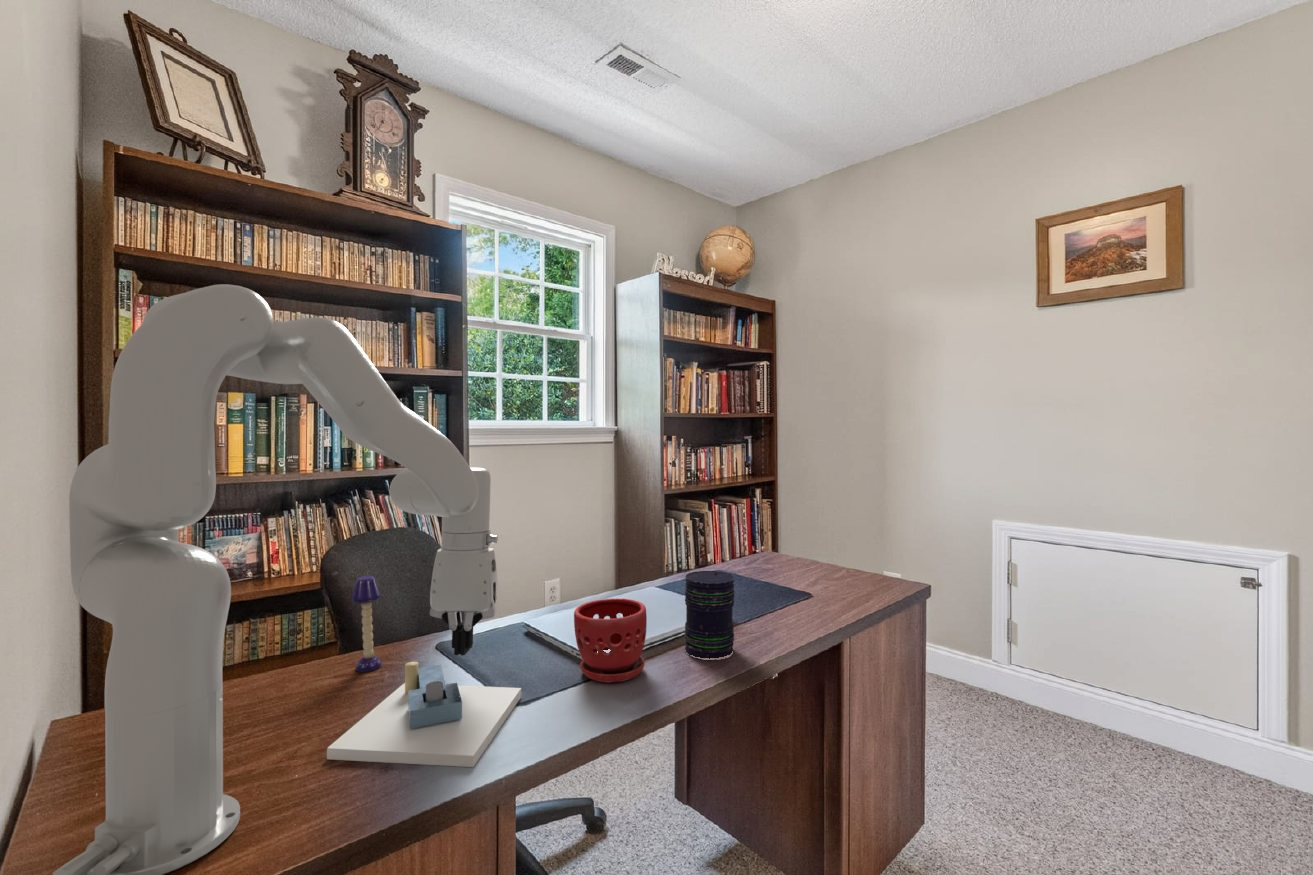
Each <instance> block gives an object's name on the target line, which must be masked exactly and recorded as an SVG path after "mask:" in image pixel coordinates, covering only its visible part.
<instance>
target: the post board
mask: <svg viewBox="0 0 1313 875" xmlns="http://www.w3.org/2000/svg"><path fill="white" fill-rule="evenodd" d="M418 668H419V662H417V661H409V662H405V663H404V683H402V685H400V686H399V687H397V689H395V690H394V691H393V692H391V694H389V695H388V696H387V697H386V698H385V699H384V700H382V701H381V702H380V703H379V704H377V706H375V707H374V708H372V710H371V711H369V712H368V713H367V714H366V715H364V716H363V717H362V718H361V719H360V720H359V721H357V722H356V723H355V724H354V725H353V726H351V727H350V728H349V729H348V730H346V731H345V733H343V734H342V735H340V737H339V738H337V739H336V740H335V741H334V742H332V743H331V744H330V745H329V746H328V747H326V760H330V761H331V760H332V761H333V760H335V761H351V762H352V761H353V762H368V763H370V762H371V763H372V762H373V763H388V764H389V763H390V764H405V765H406V764H409V765H423V766H424V765H425V766H442V767H443V766H445V767H465V768H466V767H467V768H474V767H475V765H476V764H477V763H478V761H479V760H480V758H481V756H482V755H483V754H484V752H486V749H487V748H488V746H490V744H491V743H492V741H493V739H494V738H495V736H496V735H497V733H498V732H499V730H500V729H501V728H502V726H503V724H504V723H505V722H506V721H507V719H508V717H509V716H510V714H511V713H512V712H513V710H514V709H515V707H516V705H518V703H519V701H520V700H521V698H522V687H509V686H507V687H505V686H504V687H503V686H486V685H485V686H484V685H483V686H482V685H480V686H479V685H458V684H457V685H458V689H459V693H460V696H461V700H462V719H458V720H453V721H448V722H442V723H437V724H432V725H427V726H422V727H417V728H411V729H410V726H409V712H408V691H410V690H416V689H418ZM442 699H443V682H440V681H434V682H430V683H428V684H427V685H426V702H431V701H436V700H442Z"/></svg>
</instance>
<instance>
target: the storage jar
mask: <svg viewBox="0 0 1313 875" xmlns="http://www.w3.org/2000/svg"><path fill="white" fill-rule="evenodd" d="M734 583H735V577H734V575H732V574H731V573H728V572H724V571H723V572H722V571H717V570H716V571H715V570H698V571H693V572H689V573H686V575H685V584H684V598H685V599H684V602H685V605H686V606H685V608H686V611H685V612H686V615H685V616H686V618H685V620H686V621H685V624H684V645H685V646H684V651H685V650H686V652H687V653H688V654H689V655H693V656H695V657H700V658H709V659H710V658H719V657H724V656H727V655H730V654H731V653H732V651H733V652H734V642H735V633H734V624H733V607H734V605H735V604H734V603H735V598H734V597H735V584H734ZM686 652H685V653H686Z"/></svg>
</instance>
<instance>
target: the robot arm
mask: <svg viewBox="0 0 1313 875" xmlns="http://www.w3.org/2000/svg"><path fill="white" fill-rule="evenodd" d="M226 376H228V377H229V376H230V377H235V378H239V379H244V380H249V381H250V380H251V381H256V382H264V383H271V384H278V385H279V384H280V385H300V384H302V385H303V386H304V387H305V389H306V390H307V391H308V392H309V393H310V395H311V396H312V397H313V399H315V401H316V402H317V403H318V404H319V405H320V407H321V408H322V409H323V410H324V411H325V412H326V413H327V415H328V416H329V417H330V418H331V420H332V421H333V422H334V424H335V425H336V426H337V427H338V428H339V430H340V431H341V432H342V434H344V436H345V437H346V438H347V439H349V440H350V441H352V442H353V443H356V444H357V445H358V446H361V447H363V448H365V449H367V450H368V451H371V452H374V453H376V454H379V455H381V456H384V457H385V458H389V459H391V460H393V461H394V462H396V463H397V464H400V465H401V466H402V467H404V469H403V470H401V471H400V472H398V473H397V474H396V475H395V476H394V477H393V478H392V481H391V482H390V485H389V497H390V499H391V501H392V504H394V505H395V507H397V508H398V509H400V510H401V511H403V512H405V513H409V514H413V515H420V516H433V517H441V545H440V548H439V549H437V551H436V554H435V558H434V564H433V568H432V575H431V583H430V592H429V604H430V611H429V616H430V617H433V618H437V619H442V620H443V622H445V623H446V625H448V628H449V630H450V631H451V648H452V649H453V653H454V654H453V655H454V656H465V655H466V654H468V652H469V651H470V650H471V649H473V644H474V627H475V625H477V624H478V623H479V622H480V621H481V620H487V619H492V618H494V617H495V616H496V615H497V609H496V608H497V607H496V603H497V601H498V596H499V595H498V588H499V587H498V570H497V561H496V556H495V554H496V553H495V549H494V548H493V547H489V546H491V545H492V544H497V543H498V538H499V537H498V534H495V535H494V534H493V533H492V532H491V530H490V514H491V513H490V512H491V507H490V506H491V484H492V483H491V480H492V479H491V474H490V472H489V469H486V468H483V467H473V466H472V467H471V466H470V465H469V464H468V462H467V461H466V459H465V457H464V456H463V455H462V453H461V452H460V450H459V449H458V448H457V447H456V445H455V444H454V443H453V442H452V441H451V440H450V439H449V438H448V437H447V436H446V435H445V434H443V433H442V432H441V431H439V430H438V429H437V428H436V427H434V426H433V425H432V424H430V423H428V421H425V420H424V419H423V418H422V417H421V416H419V415H418V414H417V413H416V412H414V411H413V410H411V409H410V408H408V407H407V406H406V405H404V403H402V401H400V399H399V398H398V397H397V395H396V394H395V392H394V391H393V390H392V389H391V387H390V386H389V384H388V383H387V382H386V380H385V379H384V377H383V376H382V375H381V373H380V372H379V370H378V369H377V368H376V366H375V365H374V364H373V362H372V361H371V359H370V358H369V356H368V355H367V354H366V353H365V351H364V349H363V348H362V347H361V346H360V344H359V343H358V341H357V340H356V339H355V337H354V336H353V334H352V333H351V332H350V331H349V330H348V329H347V328H346V327H345V325H343V324H341V323H340V322H338V321H336V320H334V319H332V318H329V317H319V316H318V317H317V316H316V317H306V318H298V319H292V320H286V321H279V320H275V319H274V318H273V312H272V310H271V307H270V306H269V304H268V302H267V301H266V300H265V298H263V297H262V296H261V295H260V294H259V293H257V292H255V291H254V290H253V289H250V288H247V287H243V286H241V285H236V284H235V285H234V284H228V283H227V284H226V283H225V284H222V283H221V284H213V285H208V286H204V287H199V288H195V289H193V290H189V291H186V292H183V293H179V294H174V295H170V296H168V297H165V298H162V299H160V300H158V301H157V302H156V303H154V304H153V305H151V307H150V308H148V310H147V312H146V314H145V315H144V318H143V320H142V323H141V324H140V325H139V327H138V328H137V329H136V330H135V331H134V332H133V333H132V335H131V336H130V338H129V339H128V340H127V342H126V343H125V345H124V346H123V347H122V350H121V352H120V353H119V355H118V358H117V361H116V362H115V366H114V369H113V372H112V376H111V384H110V394H109V397H110V398H109V415H108V443H107V444H104V445H103V446H101V447H99V448H97V449H95V450H94V451H92V452H91V453H89V454H88V455H87V456H85V458H84V459H83V460H82V461H81V462H80V464H79V465H78V467H77V468H76V470H75V472H74V474H73V477H72V480H71V483H70V489H69V497H68V500H69V504H68V507H69V508H68V509H69V510H68V511H69V512H68V513H69V519H68V520H69V551H70V552H69V553H70V560H69V561H70V577H71V583H72V590H73V593H74V596H75V597H76V598H75V599H76V600H77V602H78V603H79V604H80V606H81V607H82V608H83V609H84V610H85V611H87V613H89V614H90V615H92V616H94V617H95V618H98V619H100V620H102V621H105V622H107V623H108V624H111V625H112V637H111V644H110V648H109V653H108V658H107V663H106V670H105V677H104V678H105V680H104V711H105V712H104V716H105V720H104V725H105V726H104V727H105V729H104V730H105V731H104V732H105V734H104V736H105V737H104V738H105V740H104V741H105V743H104V744H105V745H104V746H105V747H104V748H105V755H104V756H105V760H104V761H105V820H104V821H102V822H101V823H99V824H98V825H97V826H95V827H94V840H93V841H92V842H90V843H89V844H88V845H87V847H86V849H85V851H83V852H82V853H81V854H79V855H76V856H75V857H74V858H71V860H70V859H69V861H68V862H66V863H64V864H62V866H60V867H59V868H57V869H56V870H54V871H53V873H52V874H51V875H165V874H168V873H171V872H173V871H175V870H178V869H180V868H183V867H184V866H187V865H189V864H191V863H192V862H194V861H196V860H199V858H202V857H203V856H205V855H207V854H208V853H210V852H211V851H212V850H214V849H216V848H217V847H218V846H219V845H221V844H222V843H223V842H224V841H225V840H226V839H228V837H229V836H230V835H231V834H232V833H233V832H234V831H235V829H236V828H237V826H238V824H239V822H240V818H241V805H240V803H239V801H238V800H237V799H236V798H234V797H232V796H231V795H228V794H224V751H223V750H224V729H223V728H224V718H223V717H224V716H223V715H224V709H223V708H224V696H223V695H224V692H223V690H224V688H223V687H224V686H223V685H224V684H223V683H224V681H223V661H224V660H223V656H224V655H223V653H224V639H225V632H226V631H225V630H226V627H227V626H226V625H227V621H228V616H229V610H230V606H231V598H232V585H231V584H232V582H231V578H230V576H229V572H228V571H227V568H226V566H225V565H224V564H223V562H222V561H221V560H220V559H219V558H218V557H217V556H216V555H215V554H213V553H212V552H209V551H208V550H206V549H204V548H202V547H199V546H197V545H193V544H189V543H185V542H180V540H179V538H180V537H179V536H180V534H179V530H181V529H184V528H186V527H189V526H192V525H194V524H196V523H197V522H199V521H200V520H201V519H203V518H204V517H205V515H207V513H208V512H209V511H210V509H211V508H212V506H213V504H214V501H215V498H216V491H217V473H216V471H217V470H216V469H217V468H216V440H215V438H216V436H215V435H216V434H215V433H216V431H215V418H216V403H217V398H218V392H219V390H220V387H221V386H222V383H223V381H224V380H225V377H226ZM462 613H465V618H464V623H463V620H462V618H463V617H462ZM463 624H464V625H463Z"/></svg>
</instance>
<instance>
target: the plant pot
mask: <svg viewBox="0 0 1313 875" xmlns="http://www.w3.org/2000/svg"><path fill="white" fill-rule="evenodd" d="M618 614H621V615H622V617H617V615H618ZM596 615H597V616H598V618H594V616H596ZM605 617H606V618H605ZM607 617H609V618H607ZM647 622H648V621H647V608H646V606H645V604H643V603H642V602H640V601H639V600H635V599H629V598H604V599H598V600H591V601H588V602H585V603H582V604H581V605H579V606H577V607H576V608H575V610H574V612H573V623H574V624H573V627H574V635H575V636H574V637H575V642H576V646H577V649H578V652H579V655H580V656H581V659H582V660H581V661H580V664H579V666H580V670H581V672H582V673H583V675H584V676H586V677H587V678H588V679H590V680H593V681H596V682H601V683H604V684H608V683H618V682H624V681H628V680H630V679H633V678H634V677H635V678H636V677H637V676H638V675H639V674H640V673H641V672H642V671H643V670H644V667H645V664H646V662H645V659H644V657H643V656H642V654H643V650H644V647H645V642H646V637H647V627H648V626H647ZM608 649H610V650H611V651H610V652H609V653H606V652H604V651H603V650H608ZM597 651H598V653H597Z"/></svg>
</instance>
